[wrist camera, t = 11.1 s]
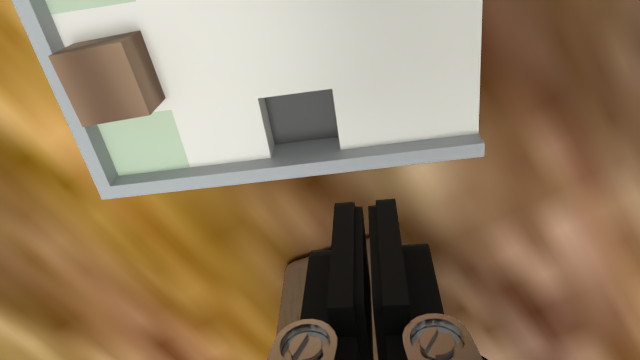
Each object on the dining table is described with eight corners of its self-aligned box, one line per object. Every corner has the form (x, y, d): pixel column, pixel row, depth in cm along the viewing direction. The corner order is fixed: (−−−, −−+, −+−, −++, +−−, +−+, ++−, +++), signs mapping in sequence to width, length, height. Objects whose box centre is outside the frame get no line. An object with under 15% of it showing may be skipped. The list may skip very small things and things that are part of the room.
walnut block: (140, 30, 28) (120, 41, 26) (165, 98, 31) (150, 115, 28) (73, 43, 29) (48, 56, 26) (103, 109, 31) (82, 127, 29)
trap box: (474, -168, 25) (497, -181, 22) (468, 131, 34) (484, 156, 30) (18, -86, 28) (-28, -86, 24) (124, 172, 36) (101, 199, 33)
